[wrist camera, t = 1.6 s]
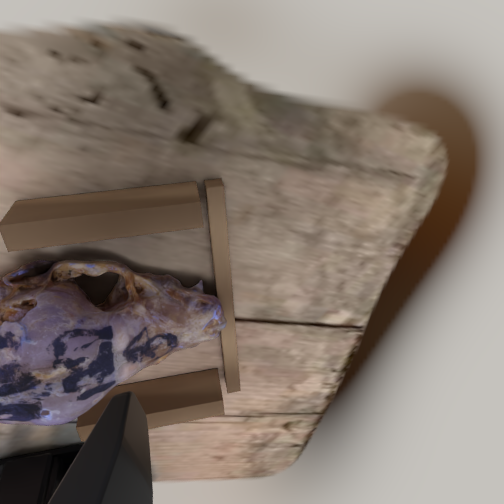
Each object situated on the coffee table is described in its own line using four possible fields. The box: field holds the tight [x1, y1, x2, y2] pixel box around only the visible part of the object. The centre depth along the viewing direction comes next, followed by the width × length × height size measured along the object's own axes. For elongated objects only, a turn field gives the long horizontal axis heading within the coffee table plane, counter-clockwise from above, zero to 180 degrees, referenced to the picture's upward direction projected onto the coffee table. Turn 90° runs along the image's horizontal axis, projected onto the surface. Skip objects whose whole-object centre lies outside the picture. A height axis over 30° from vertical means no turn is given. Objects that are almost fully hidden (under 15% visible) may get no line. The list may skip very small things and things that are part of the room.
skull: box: [0, 260, 227, 426], centre depth 20 cm, size 12×8×6 cm, turn 81°
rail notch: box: [0, 179, 240, 442], centre depth 22 cm, size 13×9×2 cm
